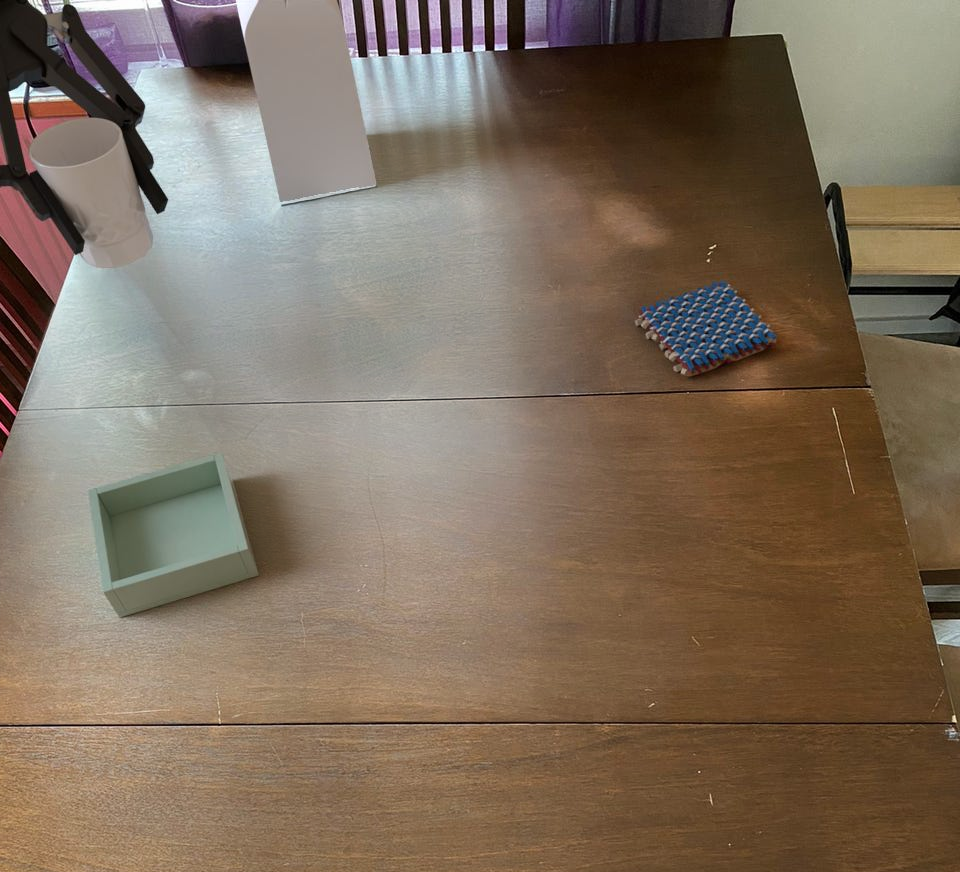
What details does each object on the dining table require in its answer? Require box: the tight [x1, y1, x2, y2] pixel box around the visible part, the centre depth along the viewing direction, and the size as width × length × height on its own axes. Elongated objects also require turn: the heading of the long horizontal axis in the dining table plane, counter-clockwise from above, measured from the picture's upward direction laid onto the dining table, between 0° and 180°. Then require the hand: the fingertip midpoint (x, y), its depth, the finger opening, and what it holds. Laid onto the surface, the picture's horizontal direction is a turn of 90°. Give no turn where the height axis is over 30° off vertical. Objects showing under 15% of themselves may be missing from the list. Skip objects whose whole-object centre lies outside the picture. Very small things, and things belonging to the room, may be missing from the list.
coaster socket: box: [87, 451, 260, 618], centre depth 87 cm, size 12×12×4 cm
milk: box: [235, 0, 377, 203], centre depth 110 cm, size 12×12×26 cm
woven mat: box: [634, 281, 777, 378], centre depth 98 cm, size 10×11×2 cm
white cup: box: [27, 117, 154, 269], centre depth 88 cm, size 8×8×10 cm
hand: (122, 227), depth 88 cm, fingers closed on white cup, 8 cm apart
